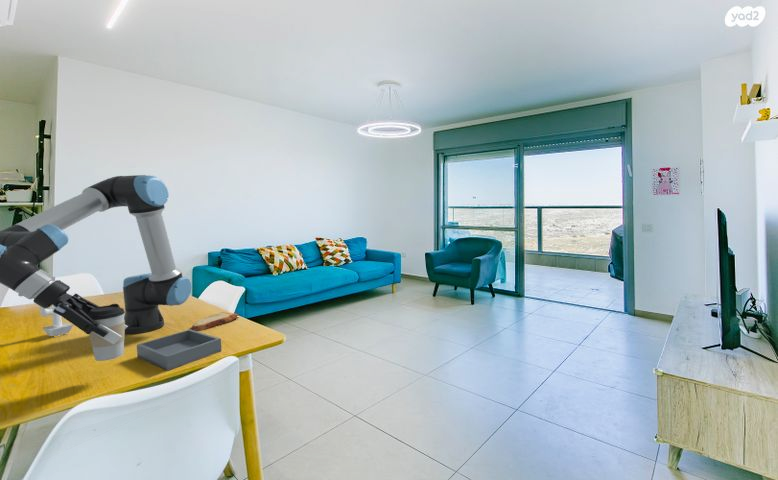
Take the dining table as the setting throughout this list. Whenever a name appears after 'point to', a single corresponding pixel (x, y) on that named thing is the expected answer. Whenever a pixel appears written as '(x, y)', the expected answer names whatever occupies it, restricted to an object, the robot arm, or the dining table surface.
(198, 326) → the slice of bread
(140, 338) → the dining table surface
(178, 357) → the tray
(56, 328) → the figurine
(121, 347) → the coffee cup
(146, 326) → the robot arm
